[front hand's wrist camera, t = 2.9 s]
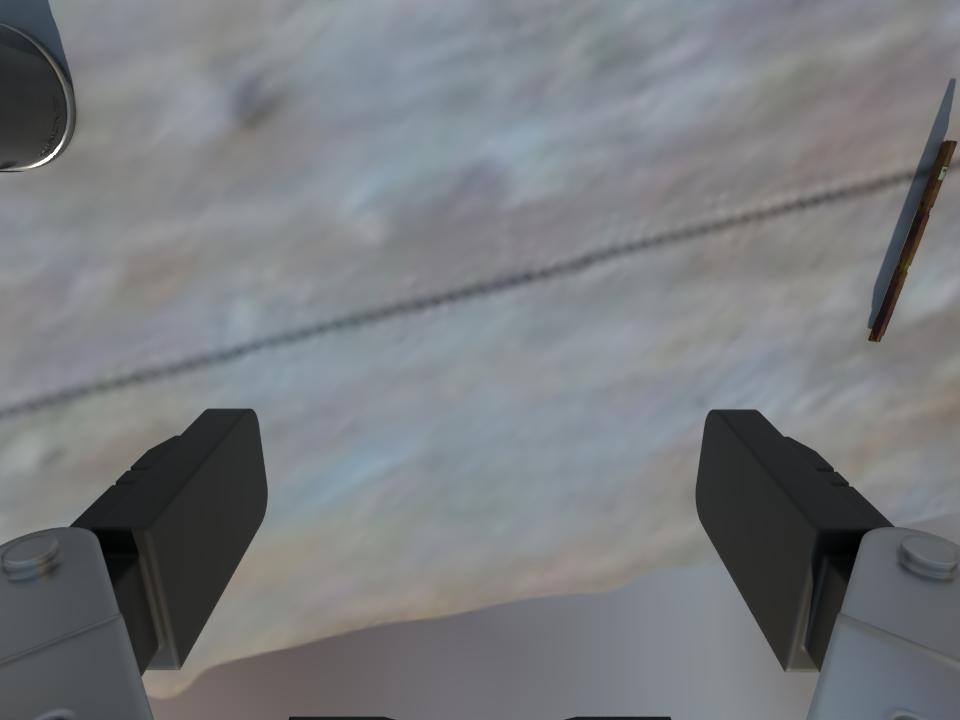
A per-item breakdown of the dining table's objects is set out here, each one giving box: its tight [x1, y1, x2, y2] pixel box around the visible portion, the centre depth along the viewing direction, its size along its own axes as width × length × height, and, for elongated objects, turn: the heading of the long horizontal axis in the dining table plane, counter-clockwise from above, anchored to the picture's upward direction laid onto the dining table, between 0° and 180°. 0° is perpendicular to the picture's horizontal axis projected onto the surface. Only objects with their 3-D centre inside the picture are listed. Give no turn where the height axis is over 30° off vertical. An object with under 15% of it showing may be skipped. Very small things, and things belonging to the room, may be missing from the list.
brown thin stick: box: [868, 141, 957, 342], centre depth 46 cm, size 15×1×1 cm, turn 172°
